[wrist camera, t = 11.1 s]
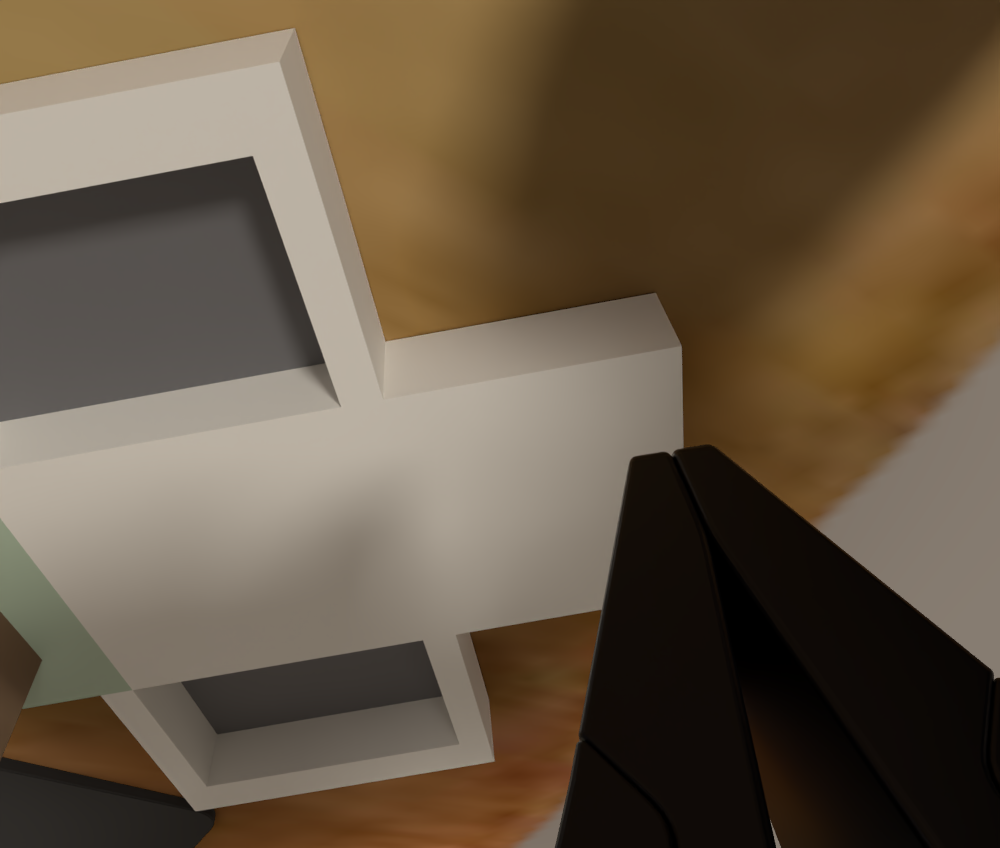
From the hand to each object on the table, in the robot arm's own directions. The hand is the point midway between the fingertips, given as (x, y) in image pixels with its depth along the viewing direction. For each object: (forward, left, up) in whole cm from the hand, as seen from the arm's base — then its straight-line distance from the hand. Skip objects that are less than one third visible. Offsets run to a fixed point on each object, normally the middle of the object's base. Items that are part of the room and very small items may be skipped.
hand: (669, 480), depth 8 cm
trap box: (+9, +9, -12) cm, 18 cm away
